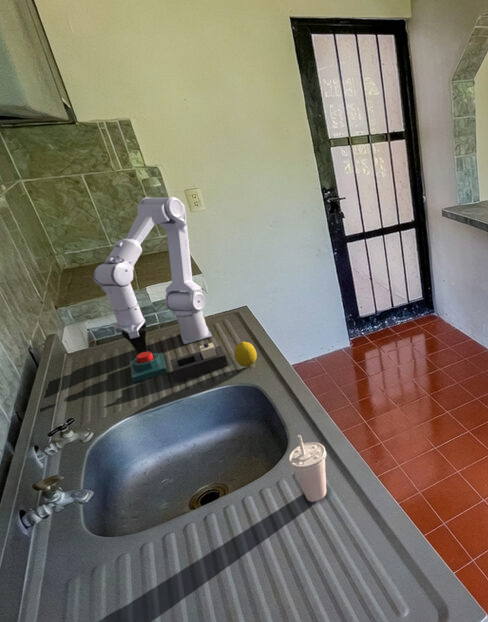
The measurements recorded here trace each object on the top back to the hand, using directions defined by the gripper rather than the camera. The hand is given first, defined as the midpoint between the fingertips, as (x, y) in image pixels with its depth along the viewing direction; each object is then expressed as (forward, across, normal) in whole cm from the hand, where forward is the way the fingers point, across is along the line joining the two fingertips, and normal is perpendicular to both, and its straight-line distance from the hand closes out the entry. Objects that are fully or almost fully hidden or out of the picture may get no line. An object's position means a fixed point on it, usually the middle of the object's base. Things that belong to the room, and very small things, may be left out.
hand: (142, 351), depth 126 cm
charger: (+6, +9, +15) cm, 18 cm away
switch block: (+6, 0, 0) cm, 6 cm away
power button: (+3, 0, 0) cm, 3 cm away
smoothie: (+6, +74, +22) cm, 77 cm away
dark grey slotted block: (+6, +9, +12) cm, 16 cm away
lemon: (+6, +17, +23) cm, 29 cm away
